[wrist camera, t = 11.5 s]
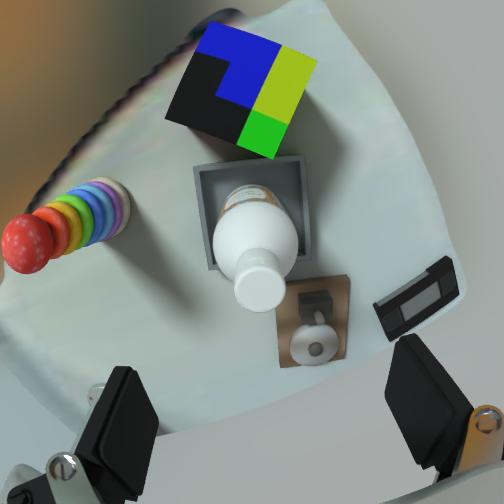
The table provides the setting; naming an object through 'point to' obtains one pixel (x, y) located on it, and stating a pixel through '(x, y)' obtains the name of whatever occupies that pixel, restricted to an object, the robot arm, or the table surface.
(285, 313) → the board
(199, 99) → the puzzle toy
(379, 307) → the vhs tape
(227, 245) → the bath foam
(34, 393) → the table surface
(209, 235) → the tray
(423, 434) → the robot arm
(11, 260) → the stacking toy
